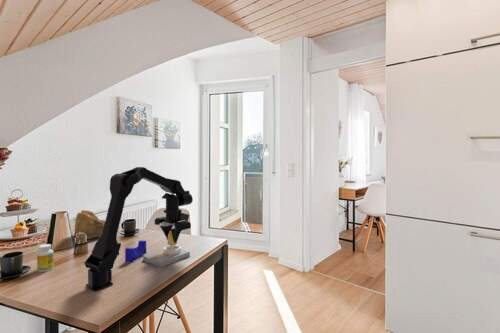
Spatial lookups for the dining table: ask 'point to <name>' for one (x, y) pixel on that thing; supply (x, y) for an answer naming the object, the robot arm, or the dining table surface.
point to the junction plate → (166, 255)
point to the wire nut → (171, 239)
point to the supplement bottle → (45, 258)
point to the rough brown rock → (89, 224)
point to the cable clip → (135, 251)
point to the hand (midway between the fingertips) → (172, 241)
